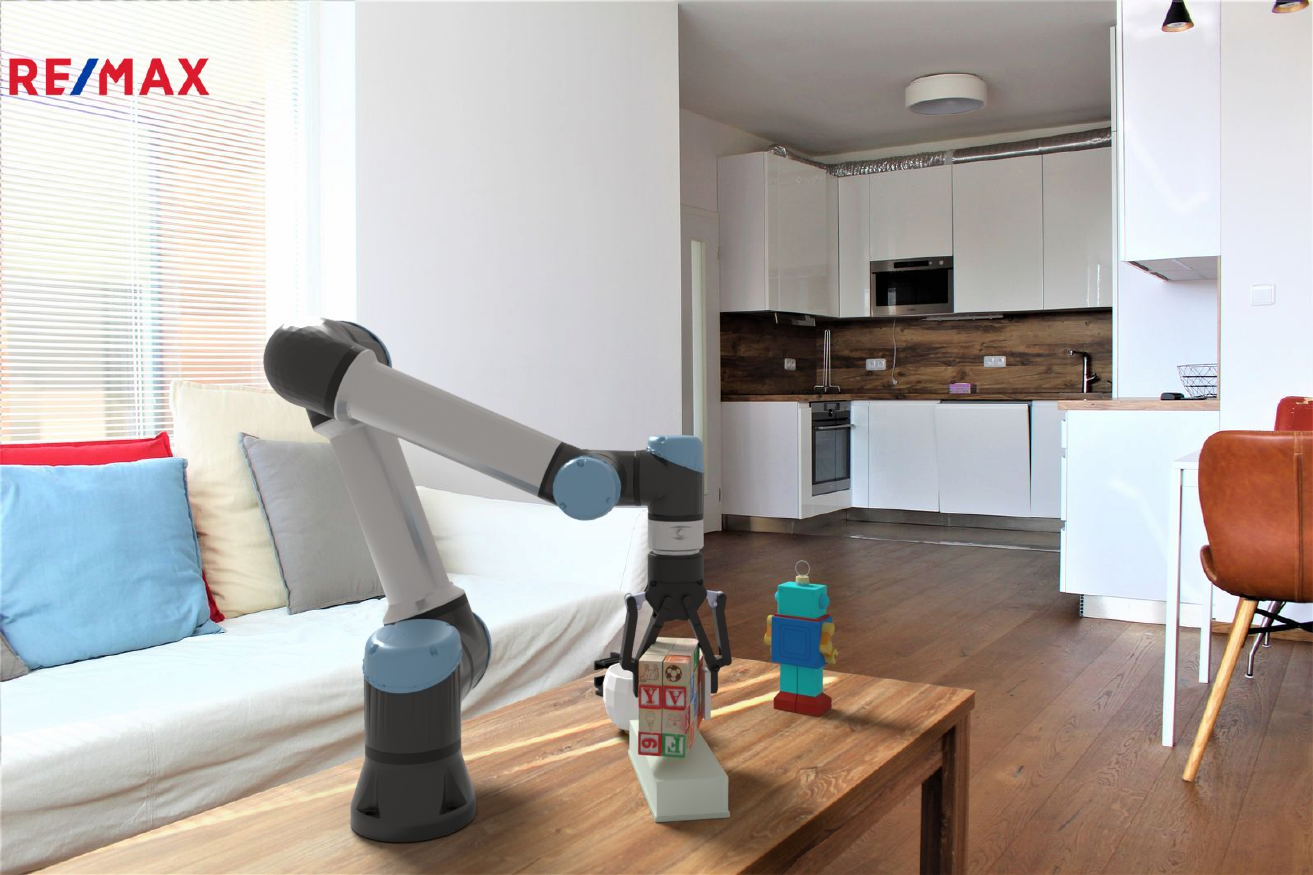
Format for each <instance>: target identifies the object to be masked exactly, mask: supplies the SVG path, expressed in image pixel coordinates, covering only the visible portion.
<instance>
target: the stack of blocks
mask: <svg viewBox="0 0 1313 875" xmlns="http://www.w3.org/2000/svg"><path fill="white" fill-rule="evenodd" d="M701 667H707V664H706V661H705V659H704V657H703V654H702V652H701V649H700V646H699V642H698V640H697V639H696V638H689V637H688V638H685V637H684V638H683V637H682V638H681V637H662V636H661V637H660V636H658V637H657V640H656V642H655V644H652V645H651V646H650V648H648V650H647V651H646V652H645V654H644V655H643V656H642V657H641V658H640V659H639V689H638V707H639V731H638V755H647V756H664V757H676V758H686V756H687V754H688V752H689V750H690V749H691V746H692V744H693V741H694V740H695V738H696V735H697V731H699V728H700V726H701V723H702V721H703V720H704V718H703V717H702V715H701Z"/></svg>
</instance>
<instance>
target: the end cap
mask: <svg viewBox="0 0 1313 875" xmlns="http://www.w3.org/2000/svg"><path fill="white" fill-rule="evenodd" d="M609 655H610V656H609V657H606V658H602V659H601V658H600V659H598V660H597V659H596V660H594V662H593V670H594V671H599V670H604V669H606V671H607V670H608V668H609V667H610V666H612V665H615V664H617V663H619V658H620V653H619V652H616V651H611V652H609ZM634 659H635V657H634V656H632V659H631V660H633V661H634ZM605 675H606V673H605V674H603V675H598V676H594V677H593V685H594V686H593V687H594V688H596V689H597V690H595V691H594V692H595V695H596V696H600V697H602V698H603V682H604V679H605Z"/></svg>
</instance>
